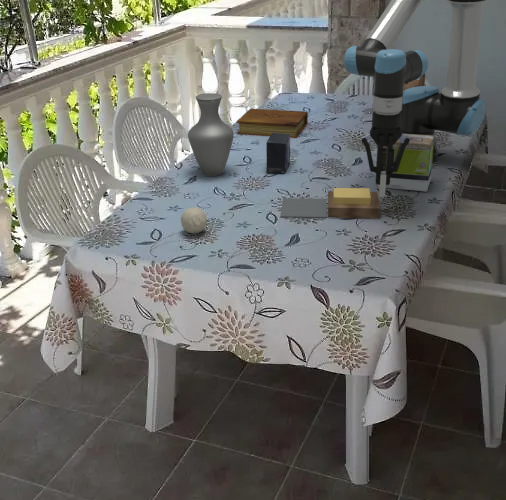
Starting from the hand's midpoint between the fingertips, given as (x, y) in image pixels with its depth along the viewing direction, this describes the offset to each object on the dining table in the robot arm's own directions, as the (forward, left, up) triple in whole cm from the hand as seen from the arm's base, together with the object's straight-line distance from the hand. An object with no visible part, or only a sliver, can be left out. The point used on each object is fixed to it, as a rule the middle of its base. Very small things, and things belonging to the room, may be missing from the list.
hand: (381, 195), depth 191 cm
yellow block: (+8, 0, -2) cm, 8 cm away
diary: (+36, -77, -5) cm, 85 cm away
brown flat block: (+8, 0, -5) cm, 9 cm away
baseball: (+50, +17, -5) cm, 53 cm away
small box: (+31, -33, -5) cm, 45 cm away
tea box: (-8, -20, -5) cm, 22 cm away
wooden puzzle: (-16, -93, -5) cm, 95 cm away
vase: (+52, -28, -5) cm, 59 cm away
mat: (+21, 0, -5) cm, 22 cm away
